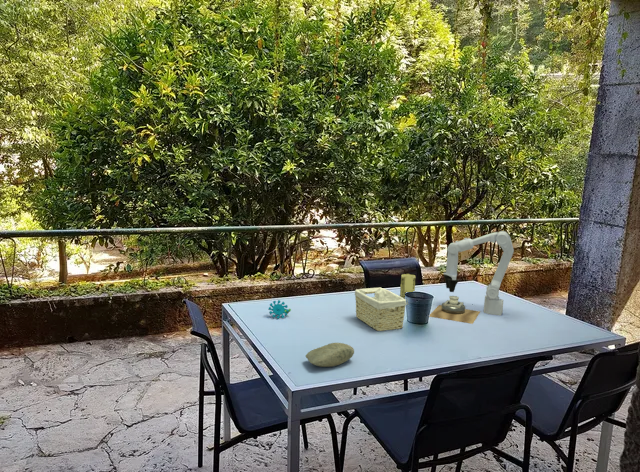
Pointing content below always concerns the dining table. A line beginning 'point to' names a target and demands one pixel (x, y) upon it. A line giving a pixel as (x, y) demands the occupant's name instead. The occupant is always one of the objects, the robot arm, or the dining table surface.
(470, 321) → the board
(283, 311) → the teal virus model
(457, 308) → the grey round socket base
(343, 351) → the rock
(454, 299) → the flanged cap
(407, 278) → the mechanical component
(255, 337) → the dining table surface
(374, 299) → the storage basket
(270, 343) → the dining table surface
